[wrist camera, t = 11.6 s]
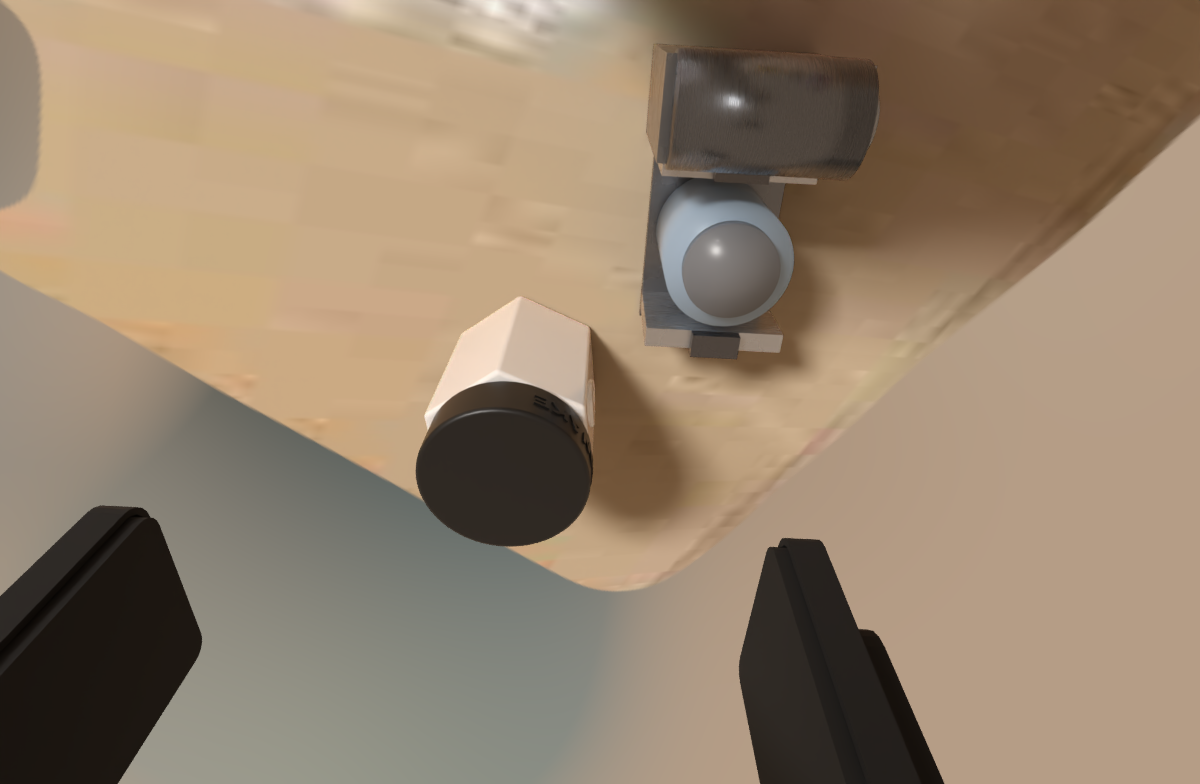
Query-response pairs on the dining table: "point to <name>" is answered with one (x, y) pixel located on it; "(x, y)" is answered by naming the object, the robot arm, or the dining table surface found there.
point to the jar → (512, 428)
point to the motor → (746, 154)
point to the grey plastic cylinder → (722, 252)
